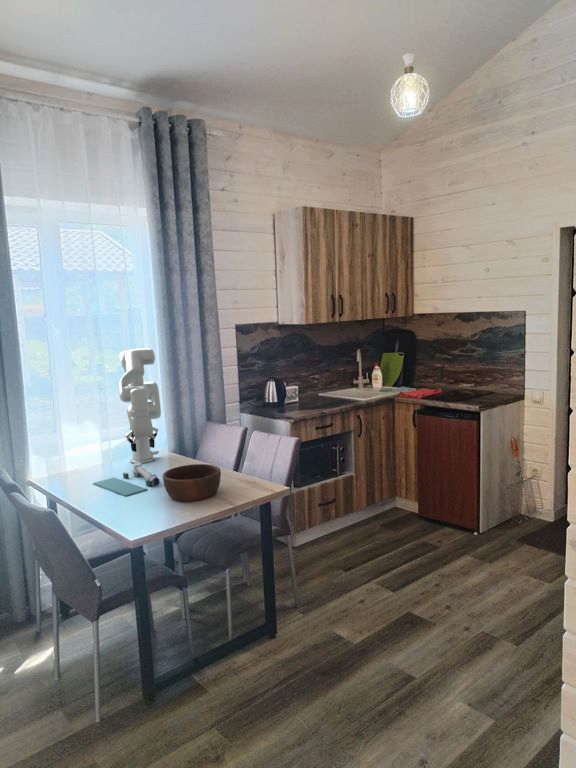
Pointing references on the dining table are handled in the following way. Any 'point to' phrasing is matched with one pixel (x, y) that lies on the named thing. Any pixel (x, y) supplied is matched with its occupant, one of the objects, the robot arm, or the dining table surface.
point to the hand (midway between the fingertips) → (143, 449)
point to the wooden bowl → (192, 482)
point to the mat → (120, 486)
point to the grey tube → (145, 474)
